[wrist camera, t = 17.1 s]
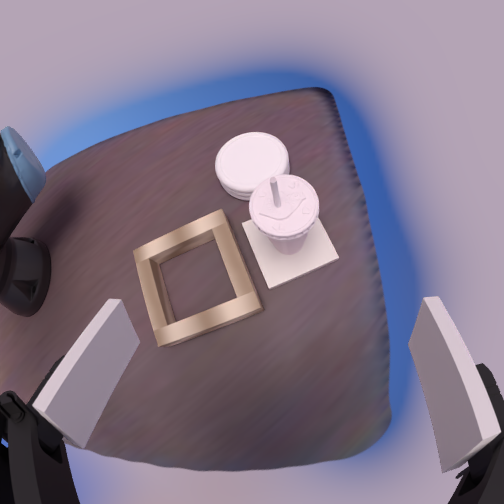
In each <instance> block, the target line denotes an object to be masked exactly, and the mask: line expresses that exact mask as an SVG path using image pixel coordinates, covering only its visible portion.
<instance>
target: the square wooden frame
mask: <svg viewBox="0 0 504 504" xmlns="http://www.w3.org/2000/svg"><path fill="white" fill-rule="evenodd" d="M214 239H216V242H217V244H218V247H219V250H220V253H221V255H222V258H223V261H224V263H225V266H226V269H227V271H228V274H229V277H230V279H231V282H232V285H233V287H234V290H235V293H236V295H237V298H236V299H233V300H231V301H228V302H226V303H223V304H221V305H218V306H216V307H213V308H211V309H208V310H206V311H203V312H201V313H198V314H196V315H193V316H191V317H188V318H186V319H183V320H181V321H178V322H176V320H175V317H174V314H173V310H172V307H171V304H170V300H169V297H168V294H167V290H166V287H165V283H164V280H163V276H162V272H161V269H160V265H159V264H161V263H163V262H165V261H167V260H169V259H172V258H174V257H176V256H178V255H180V254H183V253H185V252H187V251H189V250H191V249H194V248H196V247H198V246H200V245H203V244H205V243H207V242H209V241H211V240H214ZM133 252H134V257H135V261H136V266H137V270H138V274H139V279H140V283H141V287H142V291H143V295H144V299H145V302H146V306H147V310H148V313H149V317H150V320H151V324H152V327H153V331H154V334H155V337H156V340H157V344H158V347H170V346H173V345H175V344H178V343H181V342H184V341H187V340H189V339H192V338H195V337H198V336H200V335H203V334H206V333H208V332H211V331H214V330H216V329H219V328H221V327H224V326H227V325H229V324H232V323H234V322H237V321H239V320H242V319H244V318H247V317H249V316H252V315H254V314H257V313H259V312H262V311H264V308H263V305H262V303H261V301H260V298H259V296H258V293H257V291H256V288H255V286H254V283H253V281H252V278H251V276H250V273H249V271H248V268H247V266H246V263H245V261H244V258H243V256H242V253H241V251H240V248H239V246H238V243H237V241H236V238H235V236H234V233H233V231H232V228H231V226H230V223H229V221H228V218H227V217H226V215H225V213H224V212H223V210H222V209H220V210H217V211H215V212H213V213H211V214H209V215H206V216H204V217H202V218H200V219H198V220H195V221H193V222H191V223H189V224H187V225H185V226H183V227H180V228H178V229H176V230H174V231H172V232H170V233H168V234H166V235H164V236H162V237H160V238H158V239H156V240H153V241H151V242H149V243H147V244H145V245H143V246H141V247H139V248H137V249H135V250H133Z"/></svg>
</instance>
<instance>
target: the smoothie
mask: <svg viewBox="0 0 504 504" xmlns="http://www.w3.org/2000/svg"><path fill="white" fill-rule="evenodd" d="M249 210H250V215H251V218H252V221H253V223H254V225H255V226H256V228H257V229H258V230H259V231H260V232H261V233H262V234H264V235H266V236H267V237H268V238H269V240H270V241H271V242H272V244H273V245H274V246H275V247H276V249H277V250H278V251H279V252H281V253H282V254H286V255H292V254H295V253H297V252H299V251H300V250H301V248H302V247H303V245H304V242H305V240H306V237H307V235H308V232H309V230H310V229H311V228H312V227H313V226H314V224H315V222H316V221H317V219H318V214H319V201H318V196H317V194H316V192H315V190H314V188H313V187H312V186H311V185H310V184H309V183H308V182H307V181H305V180H304V179H302V178H300V177H297V176H294V175H287V174H282V175H276V176H272V177H270V178H267V179H266V180H264V181H263V182H261V183H260V184H259V185H258V186H257V187H256V188H255V190H254V191H253V193H252V195H251V198H250V202H249Z"/></svg>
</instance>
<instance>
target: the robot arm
mask: <svg viewBox="0 0 504 504" xmlns="http://www.w3.org/2000/svg"><path fill="white" fill-rule="evenodd" d="M45 183H46V174H45V171H44V169H43V167H42V165H41V163H40V162H39V160H38V159H37V157H36V156H35V154H34V153H33V151H32V150H31V149H30V147H29V146H28V145H27V143H26V142H25V141H24V140H23V138H22V137H21V136H20V135H19V134H18V133H17V132H16V131H15V130H14V129H13V128H11V127H9V126H7V127H5V128H4V129H3V130H1V133H0V303H1V304H2V305H3V306H5V307H6V308H8V309H9V310H10V311H12V312H13V313H15V314H17V315H21V316H26V317H27V316H31V315H33V314H34V313H36V312H37V310H38V309H39V308H40V306H41V305H42V303H43V301H44V299H45V296H46V293H47V290H48V286H49V281H50V273H51V262H50V255H49V252H48V249H47V247H46V246H45V245H44V244H43V243H42V242H40V241H38V240H36V239H34V238H27V237H10V235H11V234H12V232H13V231H14V229H15V228H16V226H17V225H18V223H19V222H20V220H21V219H22V217H23V216H24V214H25V213H26V212H27V210H28V209H29V208H30V206H31V205H32V203H34V202H35V199H36V197H37V196H38V194H39V193H40V191H41V190H42V189H43V187H44V185H45ZM139 343H140V341H139V339H138V337H137V334H136V332H135V330H134V328H133V325H132V323H131V321H130V319H129V316H128V314H127V312H126V309H125V307H124V304H123V302H122V300H120V299H109V300H108V301H107V302H106V303H105V304H104V306H103V307H102V308H101V309H100V311H99V312H98V313H97V315H96V316H95V317H94V318H93V320H92V321H91V322H90V323H89V325H88V326H87V327H86V329H85V330H84V331H83V333H82V334H81V335H80V337H79V338H78V339H77V341H76V342H75V343H74V345H73V346H72V347H71V349H70V350H69V352H68V353H67V354H66V356H63V357H61V358H60V359H59V360H58V361H56V362H55V364H54V365H53V366H52V368H51V369H50V372H49V373H48V374H47V375H46V377H45V379H43V381H42V382H41V384H40V385H39V387H38V388H37V390H36V391H35V393H34V394H33V396H32V398H31V399H30V401H29V402H28V403H27V404H25V403H24V402H23V401H22V400H21V399H20V398H19V397H18V396H17V395H16V393H15V392H13V391H6V392H4V393H2V394H1V395H0V504H80V502H79V499H78V496H77V493H76V489H75V486H74V482H73V479H72V474H71V470H70V466H69V462H68V458H67V453H66V447H65V444H64V441H63V440H62V438H63V436H64V437H65V438H66V439H67V440H69V441H70V442H71V443H73V444H75V445H77V446H79V447H81V448H83V449H84V448H85V446H86V444H87V442H88V440H89V438H90V436H91V434H92V432H93V430H94V428H95V426H96V424H97V422H98V420H99V418H100V416H101V414H102V412H103V410H104V408H105V406H106V404H107V402H108V400H109V398H110V396H111V394H112V392H113V391H114V389H115V387H116V385H117V383H118V381H119V379H120V378H121V376H122V374H123V372H124V370H125V368H126V367H127V365H128V363H129V361H130V359H131V358H132V356H133V354H134V352H135V350H136V349H137V347H138V345H139ZM408 346H409V349H410V351H411V355H412V357H413V360H414V363H415V366H416V369H417V373H418V376H419V379H420V382H421V385H422V388H423V392H424V395H425V399H426V402H427V406H428V410H429V414H430V418H431V421H432V425H433V430H434V434H435V438H436V443H437V448H438V453H439V458H440V463H441V469H442V473H444V472H447V471H450V470H453V469H456V468H459V467H460V466H462V465H463V464H464V463H466V462H467V461H468V464H469V467H467V468H466V469H464V470H463V471H461V472H460V473H459V474H458V475H457V476H456V478H457V479H458V478H459V477H461V476H462V475H463V477H462V479H461V481H460V483H459V484H458V486H457V488H456V490H455V492H454V494H453V496H452V497H451V499H450V501H449V502H448V504H504V400H503V397H502V395H501V394H500V391H499V388H498V386H497V385H496V381H495V379H494V377H493V374H492V372H491V371H490V370H489V369H488V368H487V367H486V366H485V365H484V364H483V363H482V364H478V365H475V364H474V362H473V360H472V358H471V355H470V353H469V351H468V349H467V347H466V345H465V343H464V341H463V339H462V338H461V336H460V334H459V332H458V330H457V328H456V327H455V324H454V323H453V321H452V319H451V317H450V315H449V314H448V312H447V310H446V309H445V307H444V305H443V303H442V302H441V300H440V299H439V297H438V296H436V297H425V298H423V301H422V304H421V307H420V311H419V314H418V317H417V320H416V323H415V326H414V329H413V332H412V335H411V338H410V341H409V343H408ZM2 438H3V439H4V440H5V441H6V442H8V448H7V447H5V446H4V445H3V444H2V443H1V440H2Z"/></svg>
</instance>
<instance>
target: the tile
mask: <svg viewBox="0 0 504 504" xmlns="http://www.w3.org/2000/svg"><path fill="white" fill-rule="evenodd" d="M242 225H243V228H244V230H245V232H246V235H247V237H248V240H249V242H250V244H251V247H252V249H253V252H254V254H255V256H256V259H257V261H258V264H259V266H260V268H261V271H262V273H263V276H264V278H265V280H266V283H267V285H268V288H269V290H271V289H273V288H276V287H278V286H280V285H283V284H285V283H287V282H290V281H292V280H294V279H297V278H299V277H301V276H303V275H306V274H308V273H310V272H312V271H315V270H317V269H319V268H321V267H324V266H326V265H328V264H330V263H332V262H334V261H337V260H338V259H339V257H338V255H337V253H336V251H335V249H334V247H333V245H332V243H331V241H330V239H329V237H328V235H327V233H326V231H325V229H324V227H323V226H322V224H321V222H320V220H319V218H318V219H317V221H316V222H315V224H314V226H313V227H312V228H311V229H310V230H309V232H308V235H307V237H306V240H305V242H304V245H303V247H302V248H301V250H300V251H299V252H297V253H295V254H292V255H286V254H282V253H281V252H279V251H278V250H277V249H276V247H275V246H274V245H273V244H272V242H271V241H270V240H269V238H268V237H267V236H266V235H264V234H262V233H261V232H260V231H259V230H258V229H257V228H256V226H255V225H254V223H253V221H252V219H251V220H249V221H246V222H244V223H242Z"/></svg>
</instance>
